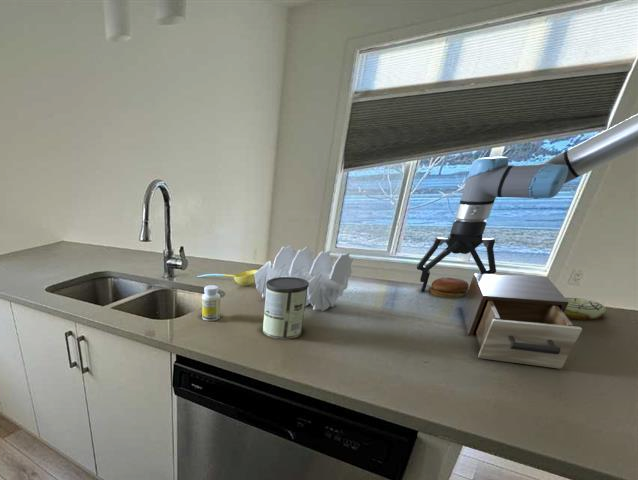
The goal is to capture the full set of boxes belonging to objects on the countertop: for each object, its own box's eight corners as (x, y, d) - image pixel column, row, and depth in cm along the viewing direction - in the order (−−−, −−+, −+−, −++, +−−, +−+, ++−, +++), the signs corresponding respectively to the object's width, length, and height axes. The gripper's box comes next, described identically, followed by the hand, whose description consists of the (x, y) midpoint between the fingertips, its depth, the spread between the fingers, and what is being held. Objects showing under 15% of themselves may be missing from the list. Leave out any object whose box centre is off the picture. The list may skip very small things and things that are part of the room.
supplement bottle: (211, 313, 127) (211, 283, 122) (223, 318, 123) (224, 287, 118) (198, 318, 125) (198, 287, 120) (210, 322, 121) (210, 291, 116)
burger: (445, 301, 120) (450, 285, 118) (420, 292, 128) (424, 277, 126) (474, 296, 121) (480, 281, 119) (448, 288, 129) (453, 274, 127)
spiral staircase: (273, 305, 140) (345, 318, 122) (245, 295, 129) (319, 308, 110) (290, 252, 136) (366, 257, 118) (262, 237, 125) (342, 241, 107)
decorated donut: (603, 325, 99) (611, 311, 97) (543, 318, 105) (549, 304, 103) (598, 312, 105) (605, 298, 103) (542, 305, 111) (548, 292, 110)
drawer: (568, 381, 78) (591, 339, 74) (481, 368, 85) (497, 330, 80) (541, 334, 95) (557, 299, 91) (469, 327, 102) (482, 293, 97)
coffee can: (271, 323, 117) (276, 275, 110) (307, 330, 111) (315, 279, 103) (255, 335, 110) (259, 285, 103) (292, 343, 104) (299, 290, 97)
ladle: (251, 288, 143) (249, 272, 141) (194, 292, 163) (191, 278, 160) (264, 281, 147) (262, 265, 145) (207, 285, 167) (204, 272, 165)
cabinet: (547, 346, 92) (569, 302, 87) (467, 337, 99) (483, 295, 94) (529, 316, 106) (547, 277, 101) (460, 310, 113) (474, 273, 108)
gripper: (420, 221, 117) (400, 294, 128) (529, 222, 105) (498, 301, 116) (419, 217, 122) (401, 287, 133) (524, 217, 111) (494, 293, 122)
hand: (446, 293), depth 125 cm, fingers open, 12 cm apart
